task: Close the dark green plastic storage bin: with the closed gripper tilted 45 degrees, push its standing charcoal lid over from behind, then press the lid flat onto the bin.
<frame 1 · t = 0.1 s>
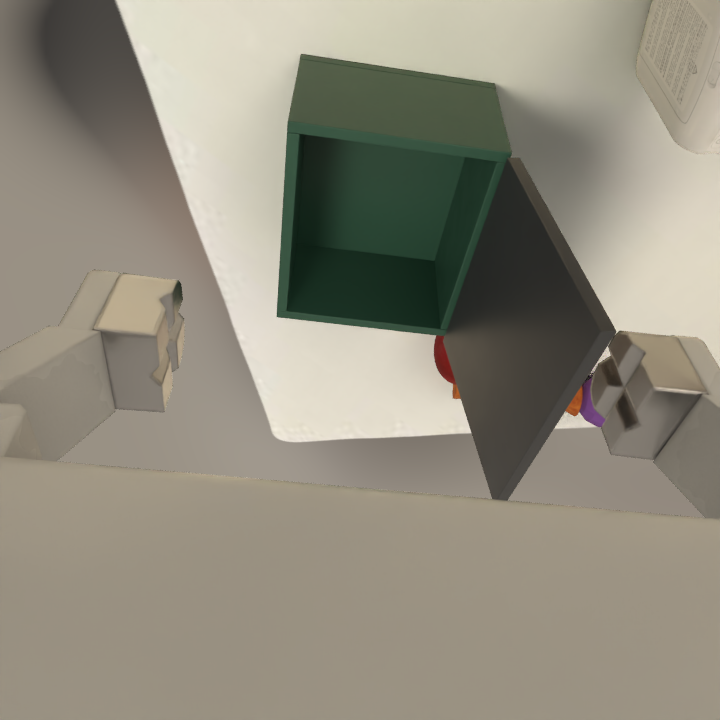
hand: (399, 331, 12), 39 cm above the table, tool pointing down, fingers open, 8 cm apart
bin lid: (506, 337, 42), point 18 cm above the table, hinge at 100.0°
photo printer: (677, 2, 43), on the table
bin: (379, 172, 53), on the table
kendama: (538, 376, 73), on the table
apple: (467, 319, 66), on the table
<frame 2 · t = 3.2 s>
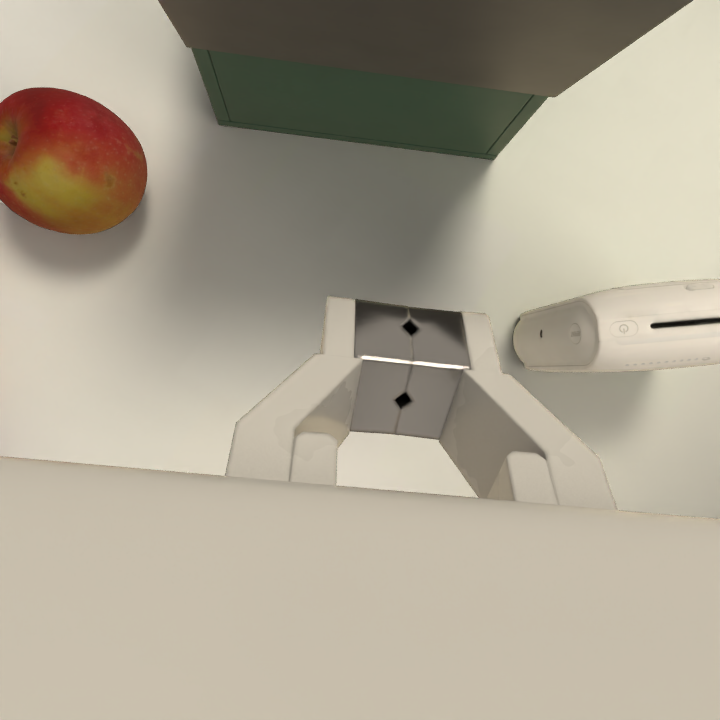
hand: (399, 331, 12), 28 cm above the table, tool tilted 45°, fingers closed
photo printer: (585, 336, 41), on the table
bin: (369, 30, 40), on the table
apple: (93, 186, 39), on the table
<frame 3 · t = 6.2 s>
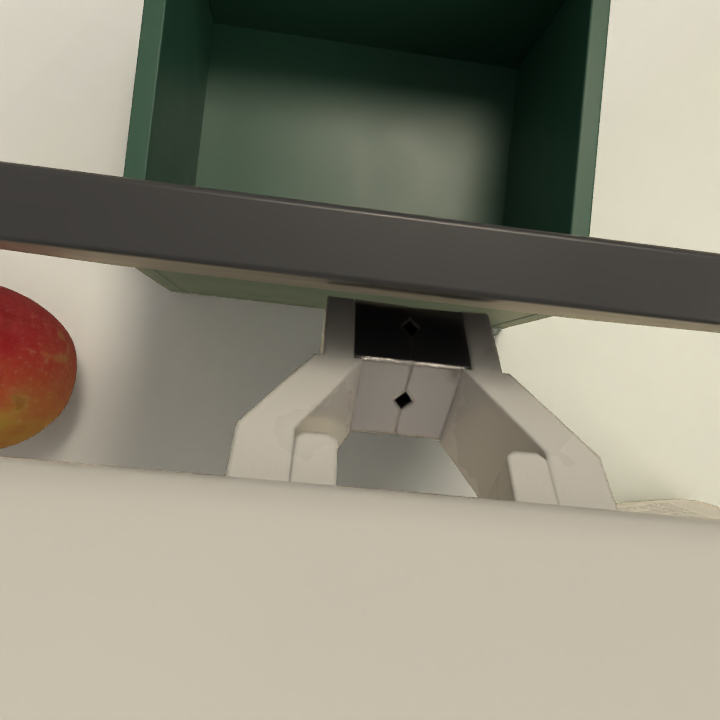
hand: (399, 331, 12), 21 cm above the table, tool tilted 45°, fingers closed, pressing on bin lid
bin lid: (380, 274, 15), point 18 cm above the table, hinge at 97.7°, touching gripper
photo printer: (611, 538, 34), on the table
bin: (354, 174, 33), on the table
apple: (15, 367, 32), on the table
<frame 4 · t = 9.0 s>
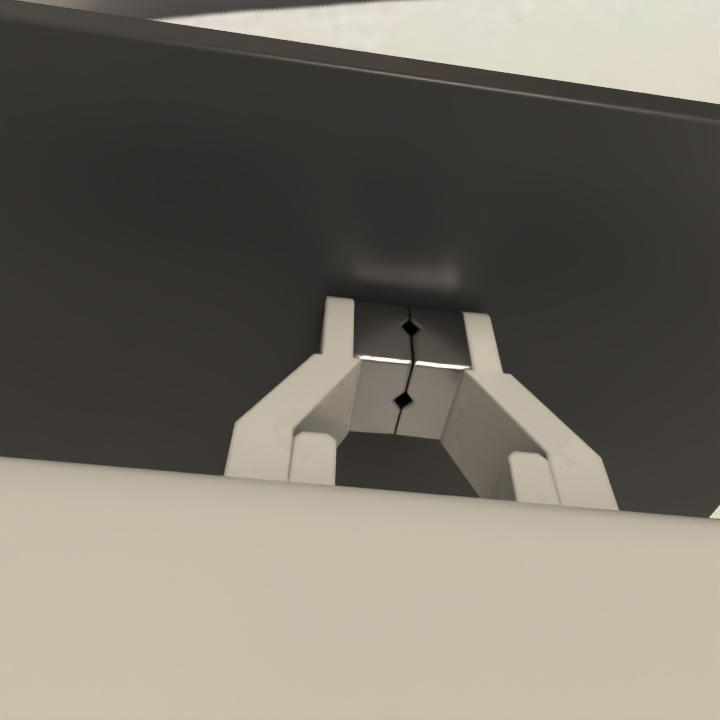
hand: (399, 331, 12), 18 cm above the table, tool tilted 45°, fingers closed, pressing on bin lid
bin lid: (373, 425, 14), point 16 cm above the table, hinge at 42.9°, touching gripper
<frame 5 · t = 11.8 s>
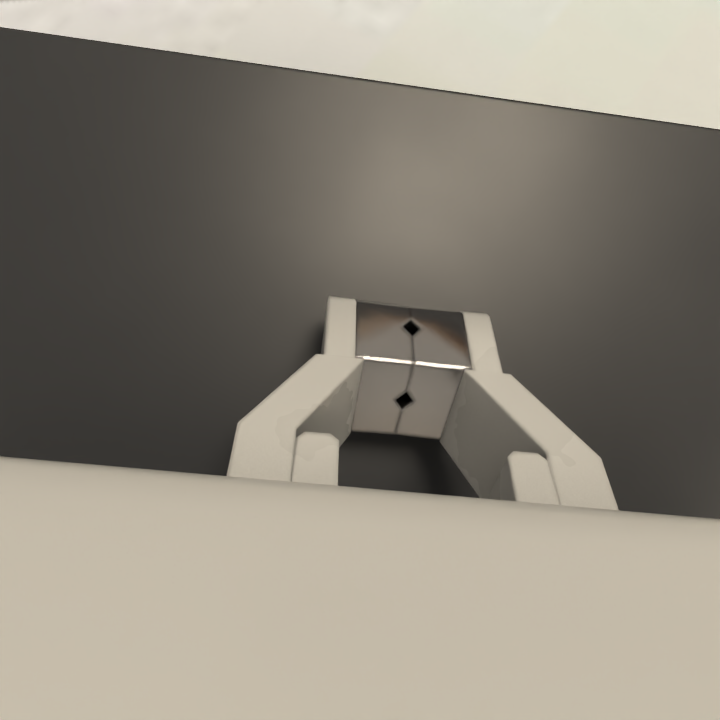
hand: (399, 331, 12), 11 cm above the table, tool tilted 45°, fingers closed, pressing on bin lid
bin lid: (381, 465, 13), point 10 cm above the table, hinge at -0.2°, touching bin, gripper
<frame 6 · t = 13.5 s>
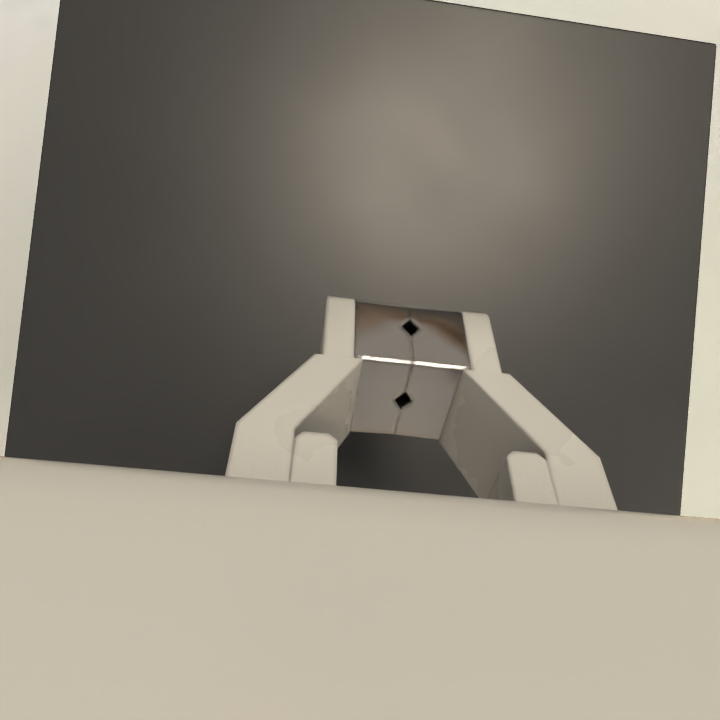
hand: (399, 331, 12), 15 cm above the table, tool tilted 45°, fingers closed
bin lid: (376, 283, 17), point 10 cm above the table, hinge at -0.2°, touching bin
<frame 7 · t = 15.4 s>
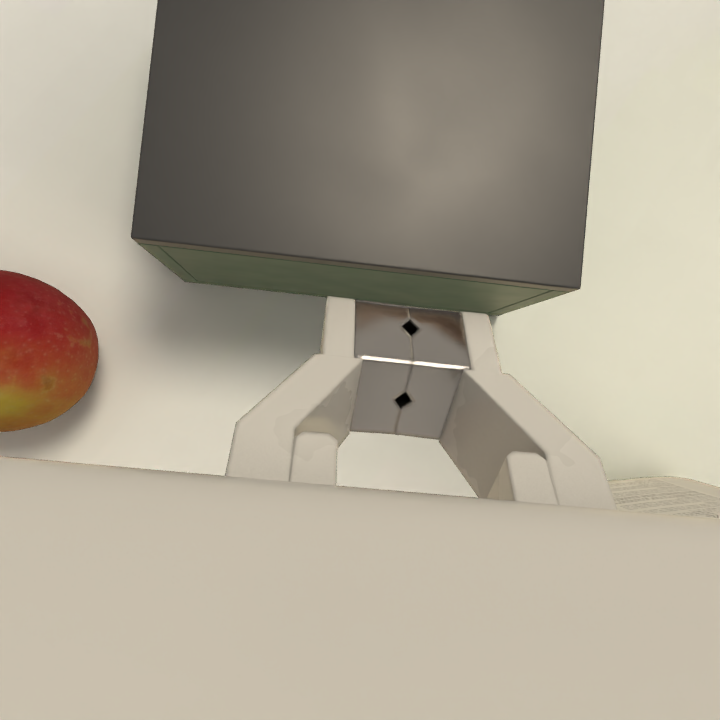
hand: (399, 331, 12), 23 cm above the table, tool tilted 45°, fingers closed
bin lid: (380, 75, 25), point 10 cm above the table, hinge at -0.2°, touching bin
photo printer: (602, 514, 36), on the table
bin: (357, 170, 35), on the table
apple: (39, 354, 34), on the table
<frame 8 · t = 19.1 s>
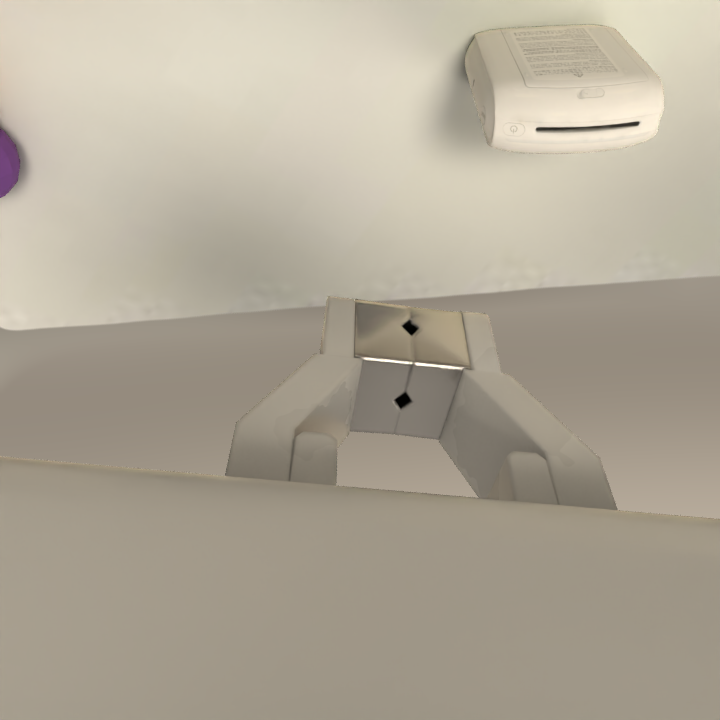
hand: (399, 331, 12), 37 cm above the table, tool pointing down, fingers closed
photo printer: (537, 55, 44), on the table
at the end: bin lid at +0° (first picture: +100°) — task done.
